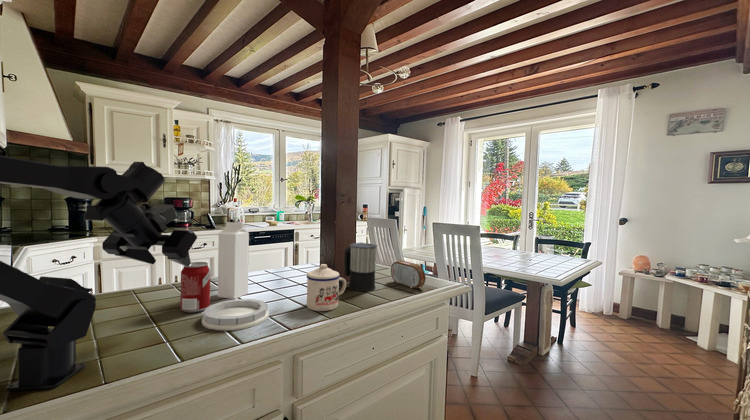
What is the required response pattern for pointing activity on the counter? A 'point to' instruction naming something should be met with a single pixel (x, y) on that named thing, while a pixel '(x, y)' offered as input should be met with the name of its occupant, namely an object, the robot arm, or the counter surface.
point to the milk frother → (360, 266)
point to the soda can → (195, 287)
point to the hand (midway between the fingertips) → (171, 263)
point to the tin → (408, 274)
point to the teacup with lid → (323, 289)
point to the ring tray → (235, 314)
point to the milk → (233, 261)
